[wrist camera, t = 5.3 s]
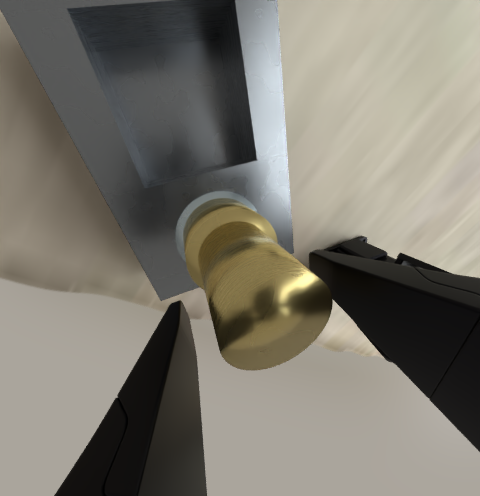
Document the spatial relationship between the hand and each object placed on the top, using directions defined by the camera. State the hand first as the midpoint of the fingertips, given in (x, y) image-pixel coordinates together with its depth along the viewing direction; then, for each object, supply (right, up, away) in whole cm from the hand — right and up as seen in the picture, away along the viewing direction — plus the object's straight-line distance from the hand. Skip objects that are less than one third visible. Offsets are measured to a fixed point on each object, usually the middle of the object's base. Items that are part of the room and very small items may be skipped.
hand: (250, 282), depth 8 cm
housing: (-4, +8, +7) cm, 12 cm away
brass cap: (-2, +2, +5) cm, 6 cm away
